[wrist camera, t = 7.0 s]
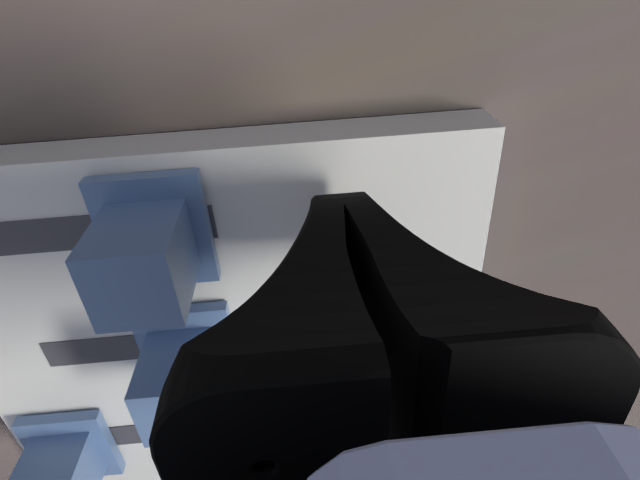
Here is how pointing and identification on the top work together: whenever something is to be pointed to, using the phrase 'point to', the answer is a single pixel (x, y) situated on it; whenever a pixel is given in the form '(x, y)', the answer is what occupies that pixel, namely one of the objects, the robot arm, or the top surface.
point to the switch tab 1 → (66, 447)
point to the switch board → (214, 232)
